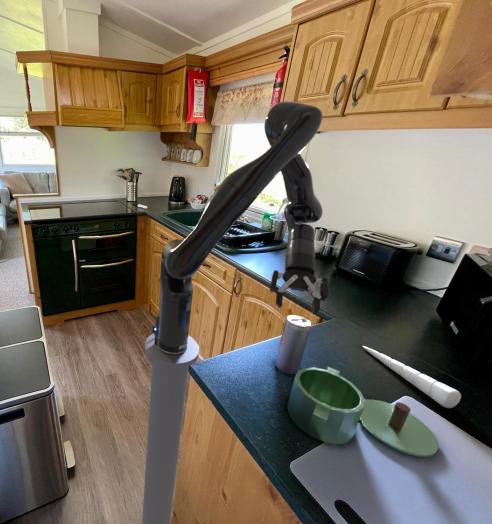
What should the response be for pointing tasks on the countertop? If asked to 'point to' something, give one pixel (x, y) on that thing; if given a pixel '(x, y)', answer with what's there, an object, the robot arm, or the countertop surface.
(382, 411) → the pot lid
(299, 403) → the pot
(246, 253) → the countertop surface
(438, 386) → the unicorn horn
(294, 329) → the beverage can
